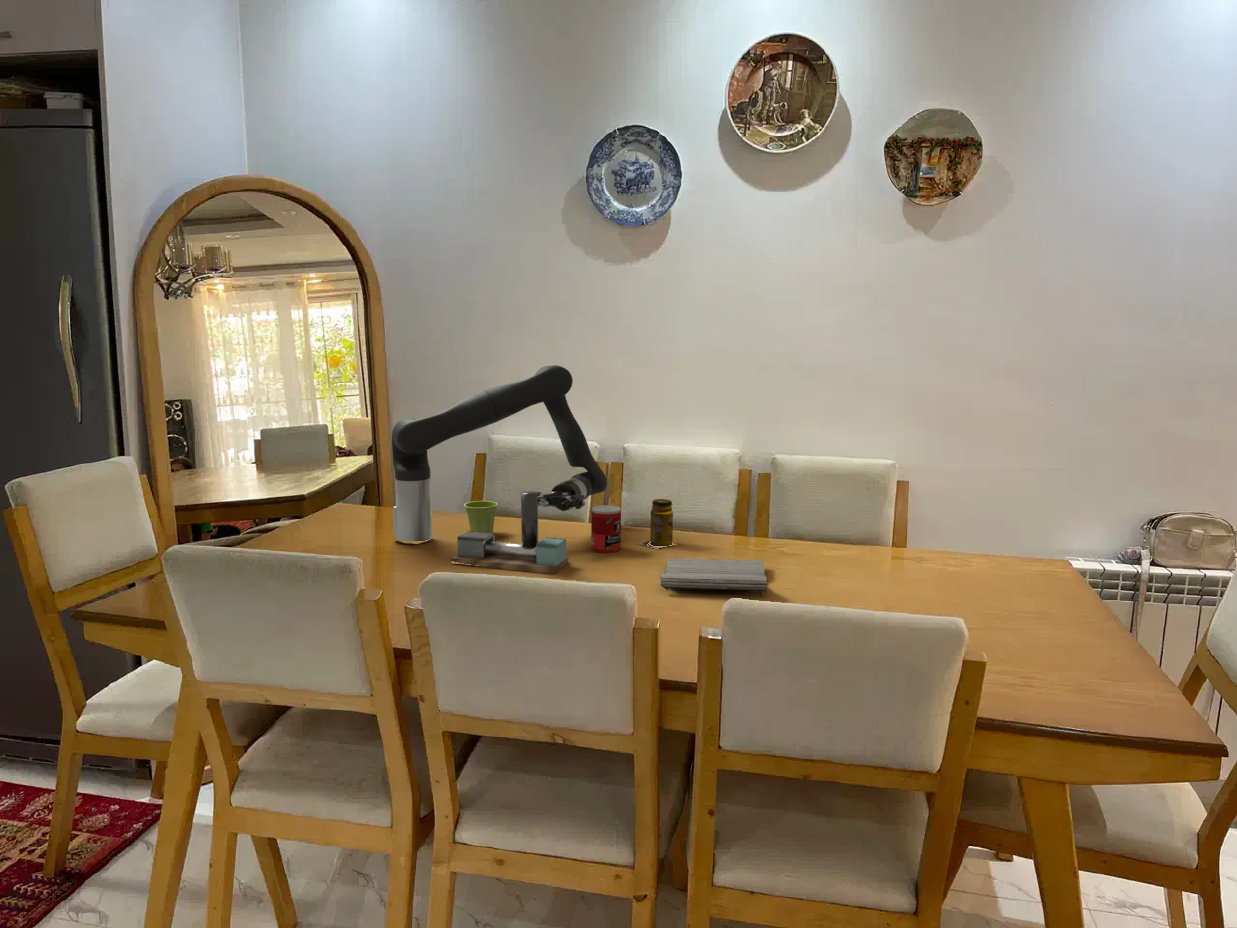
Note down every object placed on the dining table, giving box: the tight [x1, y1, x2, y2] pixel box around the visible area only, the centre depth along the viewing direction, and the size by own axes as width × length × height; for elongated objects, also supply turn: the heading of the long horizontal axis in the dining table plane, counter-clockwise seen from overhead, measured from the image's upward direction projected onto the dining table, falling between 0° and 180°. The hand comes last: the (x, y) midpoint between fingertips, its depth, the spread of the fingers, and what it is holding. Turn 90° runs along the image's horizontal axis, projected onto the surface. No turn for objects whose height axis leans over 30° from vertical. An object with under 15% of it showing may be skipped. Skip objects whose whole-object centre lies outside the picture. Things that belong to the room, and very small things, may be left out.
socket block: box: [536, 536, 567, 566], centre depth 198 cm, size 5×7×5 cm
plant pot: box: [463, 500, 499, 533], centre depth 230 cm, size 9×9×9 cm
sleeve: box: [457, 530, 496, 559], centre depth 204 cm, size 7×6×5 cm
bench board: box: [450, 553, 569, 575], centre depth 202 cm, size 27×10×2 cm, turn 73°
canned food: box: [590, 504, 622, 554], centre depth 215 cm, size 8×8×11 cm
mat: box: [659, 557, 767, 598], centre depth 189 cm, size 23×24×5 cm
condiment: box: [638, 498, 674, 550], centre depth 220 cm, size 7×8×12 cm
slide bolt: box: [485, 490, 539, 559], centre depth 200 cm, size 20×4×16 cm, turn 73°
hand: (546, 506), depth 209 cm, fingers open, 8 cm apart
